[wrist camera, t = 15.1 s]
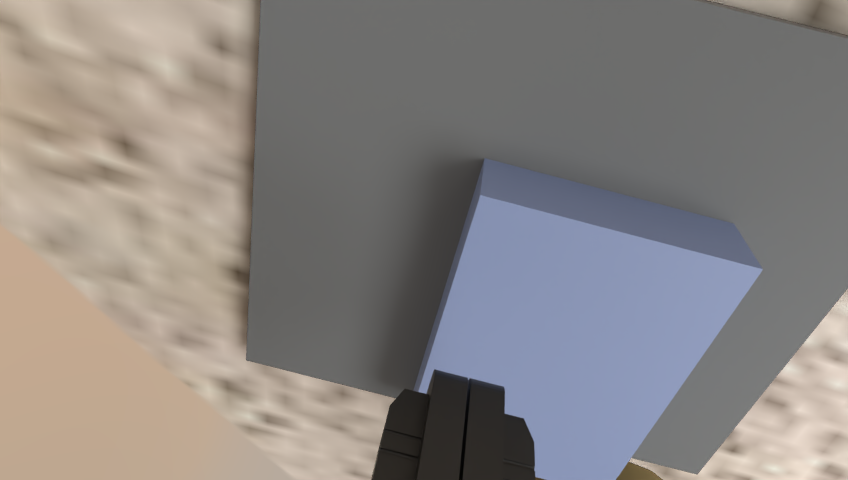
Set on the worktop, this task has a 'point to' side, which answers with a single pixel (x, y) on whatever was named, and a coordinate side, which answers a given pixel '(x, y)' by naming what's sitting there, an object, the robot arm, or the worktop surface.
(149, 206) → the worktop surface
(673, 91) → the mat
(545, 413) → the card deck
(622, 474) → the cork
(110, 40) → the worktop surface
